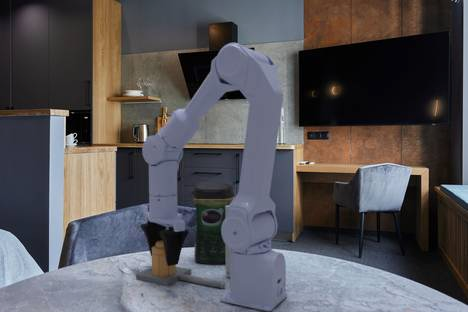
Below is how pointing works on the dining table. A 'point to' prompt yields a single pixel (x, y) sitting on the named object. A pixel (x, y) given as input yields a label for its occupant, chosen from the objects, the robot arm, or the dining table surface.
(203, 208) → the coffee jar
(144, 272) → the gray square paddle
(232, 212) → the robot arm
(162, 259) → the wire nut
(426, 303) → the dining table surface
